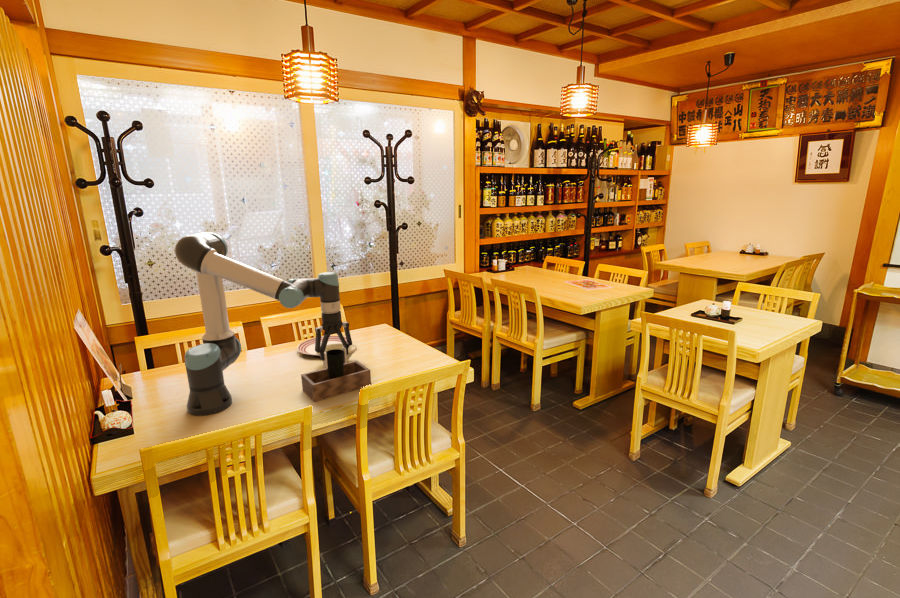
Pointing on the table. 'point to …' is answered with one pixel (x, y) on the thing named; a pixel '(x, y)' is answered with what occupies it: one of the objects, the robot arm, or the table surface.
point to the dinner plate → (309, 345)
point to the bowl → (339, 346)
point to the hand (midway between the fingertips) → (335, 364)
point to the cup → (335, 363)
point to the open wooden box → (335, 381)
